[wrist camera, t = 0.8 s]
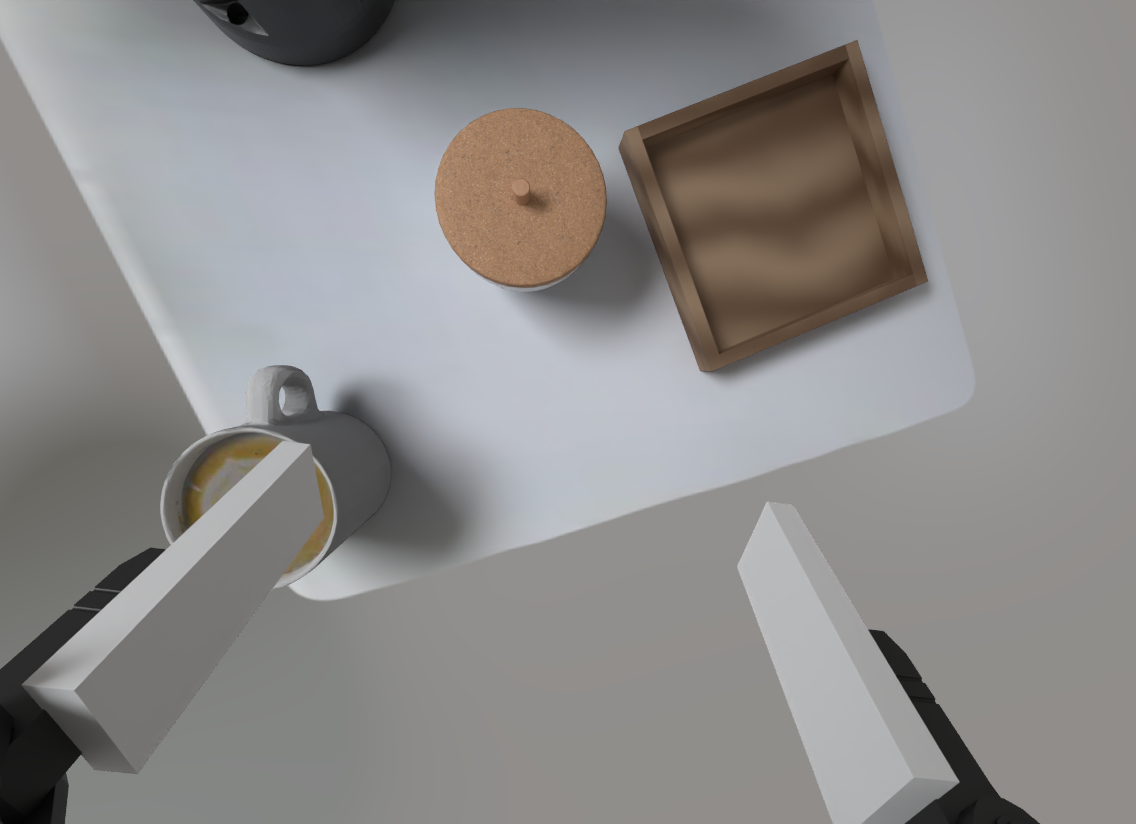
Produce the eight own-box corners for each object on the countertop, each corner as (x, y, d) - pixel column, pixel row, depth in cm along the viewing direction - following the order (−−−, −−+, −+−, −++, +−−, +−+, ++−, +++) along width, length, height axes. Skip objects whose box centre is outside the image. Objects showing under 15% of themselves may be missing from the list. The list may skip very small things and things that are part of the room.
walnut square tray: (618, 147, 35) (624, 131, 33) (834, 62, 36) (857, 39, 33) (700, 370, 37) (712, 371, 35) (902, 287, 38) (928, 281, 36)
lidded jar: (581, 157, 35) (599, 80, 26) (599, 294, 36) (622, 268, 27) (445, 172, 34) (412, 99, 25) (467, 311, 36) (444, 291, 26)
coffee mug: (383, 538, 37) (328, 601, 27) (257, 522, 36) (152, 581, 26) (404, 378, 36) (354, 382, 26) (275, 358, 35) (172, 354, 25)
